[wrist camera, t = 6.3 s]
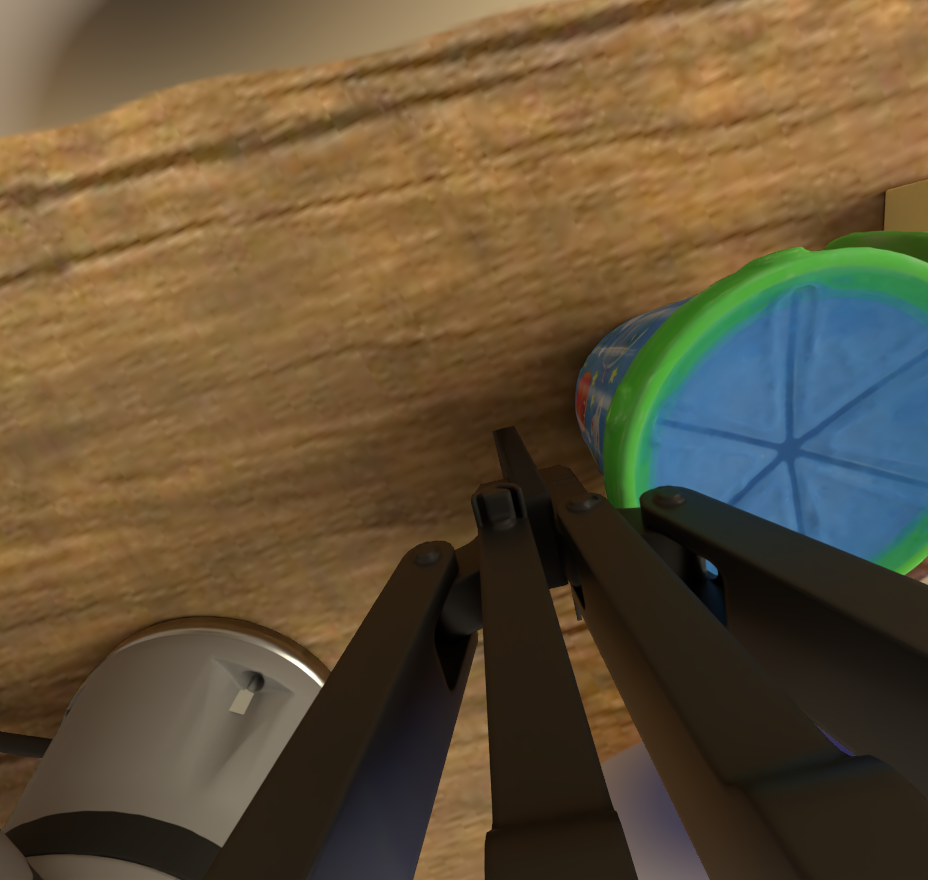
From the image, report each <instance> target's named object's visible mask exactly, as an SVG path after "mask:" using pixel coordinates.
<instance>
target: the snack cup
mask: <svg viewBox="0 0 928 880" xmlns="http://www.w3.org/2000/svg"><path fill="white" fill-rule="evenodd" d="M575 410H576V417H577V421H578V424H579V427H580V430H581V434H582V436H583V439H584V441H585V443H586V444H587V446H588V447H589V449H590V452H591V454H592V456H593V458H594V461H595V463H596V465H597V467H598V469H599V471H600V473H601V474H602V476H603V478H604V483H605V489H606V493H607V498H608V501H609V502H610V503H611V504H612V505H613V506H614V507H615V508H638V507H640V502H639V498H640V496H641V495H642V494H643V493H644V492H646V491H648V490H650V489H654V488H657V487H659V486H667V485H672V486H678V487H684V488H688V489H692V490H694V491H697V492H699V493H702V494H704V495H706V496H709V497H711V498H714V499H716V500H719V501H721V502H724V503H726V504H729V505H731V506H734V507H736V508H739V509H741V510H744V511H746V512H749V513H751V514H753V515H756V516H758V517H761V518H763V519H766V520H768V521H771V522H773V523H776V524H778V525H781V526H783V527H786V528H788V529H791V530H793V531H796V532H798V533H801V534H803V535H805V536H808V537H810V538H813V539H815V540H818V541H820V542H823V543H825V544H828V545H830V546H833V547H835V548H838V549H840V550H843V551H845V552H848V553H850V554H853V555H855V556H857V557H860V558H862V559H865V560H867V561H870V562H872V563H875V564H877V565H880V566H882V567H885V568H887V569H890V570H892V571H895V572H897V573H900V574H902V575H905V574H907V573H908V572H909V571H910V570H912V569H913V568H915V567H916V566H917V565H918V564H919V563H921V562H922V561H923V560H924V559H925V558H926V557H927V556H928V232H923V231H921V232H915V231H869V232H854V233H852V234H849V235H846V236H843V237H839V238H837V239H835V240H833V241H831V242H830V243H829V244H827V245H826V247H825V248H824V250H821V251H812V252H810V251H808V250H806V249H804V248H803V247H793V248H790V249H786V250H782V251H778V252H774V253H771V254H769V255H766V256H763V257H760V258H757V259H755V260H753V261H751V262H749V263H748V264H746V265H745V266H744V267H742V268H741V269H740V270H738V271H737V272H736V273H734V274H732V275H729V276H727V277H725V278H723V279H721V280H719V281H717V282H715V283H714V284H713V285H711V286H710V287H708V288H707V289H706V290H704V291H703V292H701V293H699V294H697V295H695V296H692V297H689V298H688V299H686V300H683V301H679V302H675V303H672V304H669V305H667V306H663V307H660V308H658V309H655V310H652V311H649V312H647V313H644V314H641V315H639V316H636V317H633V318H631V319H629V320H628V321H626V322H624V323H623V324H621V325H619V326H618V327H617V328H615V329H614V330H613V331H611V332H610V333H608V334H607V335H606V336H605V337H604V338H603V339H602V340H601V341H600V342H599V343H598V344H597V345H596V347H595V348H594V349H593V351H592V353H591V354H590V355H589V356H588V357H587V359H586V361H585V363H584V366H583V367H582V368H581V369H580V372H579V376H578V379H577V383H576V390H575ZM706 567H707V570H708V571H710V572H711V573H713V574H715V575H718V570H717V568H716V567H715V566H714V565H713V564H712V563H710V562H709V561H708V560H706Z"/></svg>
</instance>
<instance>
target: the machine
mask: <svg viewBox="0 0 928 880" xmlns="http://www.w3.org/2000/svg"><path fill="white" fill-rule="evenodd" d="M884 231H915V232H921V231H923V232H928V179H927V180H923V181H919V182H915V183H912V184H908V185H904V186H900V187H897V188H893V189H889V190H887V191H886V197H885V217H884Z"/></svg>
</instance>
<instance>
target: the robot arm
mask: <svg viewBox="0 0 928 880" xmlns="http://www.w3.org/2000/svg"><path fill="white" fill-rule="evenodd" d="M493 435H494V439H495V444H496V448H497V452H498V457H499V461H500V465H501V470H502V474H503V478H504V479H501V480H497V481H493V482H489V483H484V484H481V485H480V486H479V488H478V489H477V490H476V492H475V493H474V494H473V495H472V497H471V504H472V508H473V512H474V515H475V519H476V523H477V527H478V536H477V537H476V538H475V539H474V540H473V541H471V542H470V543H469V544H467V545H465V546H463V547H461V548H459V549H456V550H454V548H453V546H452V545H451V544H450V543H448V542H446V541H431V542H424V543H423V544H419V545H417V546H416V547H414V548H413V549H411V550H410V551H408V552H407V553H406V555H405V556H404V557H403V558H402V560H401V561H400V563H399V565H398V566H397V568H396V569H395V571H394V573H393V574H392V576H391V577H390V579H389V581H388V582H387V584H386V585H385V587H384V589H383V590H382V592H381V593H380V595H379V597H378V598H377V600H376V601H375V603H374V605H373V606H372V608H371V609H370V611H369V613H368V614H367V616H366V617H365V619H364V621H363V622H362V624H361V626H360V627H359V629H358V630H357V632H356V634H355V635H354V637H353V638H352V640H351V642H350V643H349V645H348V646H347V648H346V650H345V651H344V653H343V654H342V656H341V658H340V659H339V661H338V662H337V664H336V666H335V667H334V669H333V670H332V672H330V670H329V669H328V668H327V667H326V666H325V665H324V664H323V663H322V662H321V661H320V660H319V659H318V658H317V657H316V656H314V655H313V654H312V653H311V652H310V651H308V650H307V649H305V648H304V647H303V646H301V645H300V644H298V643H296V642H295V641H293V640H292V639H290V638H288V637H286V636H284V635H282V634H280V633H278V632H275V631H273V630H270V629H268V628H265V627H262V626H259V625H256V624H253V623H249V622H244V621H240V620H234V619H228V618H217V617H193V618H182V619H177V620H171V621H167V622H163V623H160V624H156V625H154V626H151V627H148V628H146V629H144V630H142V631H140V632H137V633H135V634H134V635H132V636H131V637H129V638H127V639H126V640H124V641H123V642H122V643H121V644H119V645H118V646H117V647H116V648H115V649H114V650H113V651H112V652H111V653H110V654H109V655H108V656H107V657H106V658H105V659H104V660H103V661H102V662H101V663H100V664H99V665H98V666H97V667H96V668H95V669H94V670H93V671H92V672H91V673H90V675H89V676H88V677H87V679H86V680H85V682H84V683H83V684H82V685H81V687H80V688H79V689H78V691H77V692H76V693H75V695H74V696H73V698H72V700H71V701H70V703H69V706H68V708H67V710H66V712H65V715H64V717H63V719H62V722H61V724H60V728H59V730H58V731H57V733H56V735H55V737H54V738H53V739H49V738H42V737H34V736H27V735H20V734H13V733H7V732H1V731H0V752H2V753H8V754H15V755H22V756H29V757H36V758H42V759H41V761H40V763H39V765H38V767H37V768H36V770H35V772H34V774H33V776H32V778H31V779H30V781H29V783H28V785H27V787H26V789H25V791H24V792H23V794H22V796H21V798H20V800H19V802H18V804H17V806H16V807H15V809H14V811H13V813H12V815H11V817H10V818H9V820H8V822H7V823H6V825H5V826H4V828H3V829H2V830H1V829H0V880H413V878H414V874H415V871H416V867H417V863H418V860H419V856H420V852H421V849H422V845H423V841H424V838H425V834H426V830H427V826H428V823H429V819H430V815H431V812H432V808H433V804H434V801H435V797H436V793H437V790H438V786H439V782H440V779H441V775H442V771H443V768H444V764H445V760H446V757H447V753H448V749H449V746H450V742H451V738H452V735H453V731H454V727H455V724H456V720H457V716H458V713H459V709H460V705H461V702H462V698H463V694H464V690H465V687H466V683H467V679H468V676H469V672H470V668H471V665H472V661H473V657H474V654H475V650H476V646H477V643H478V633H477V631H478V630H480V629H482V628H483V638H484V658H485V677H486V696H487V716H488V735H489V754H490V774H491V793H492V817H493V823H492V830H490V831H489V832H487V833H486V840H485V880H638V877H637V875H636V871H635V867H634V864H633V861H632V857H631V854H630V851H629V848H628V845H627V841H626V838H625V835H624V832H623V828H622V825H621V822H620V820H619V817H618V814H617V812H616V811H615V810H614V808H613V805H612V802H611V799H610V796H609V792H608V789H607V786H606V782H605V779H604V776H603V772H602V769H601V765H600V762H599V758H598V755H597V752H596V748H595V745H594V741H593V738H592V734H591V731H590V728H589V724H588V721H587V717H586V714H585V711H584V707H583V704H582V700H581V697H580V693H579V690H578V687H577V683H576V680H575V676H574V673H573V670H572V666H571V663H570V659H569V656H568V652H567V649H566V646H565V642H564V639H563V635H562V632H561V629H560V625H559V622H558V618H557V615H556V611H555V608H554V605H553V601H552V598H551V594H550V591H549V589H551V588H555V587H560V586H564V585H567V584H568V581H569V582H570V585H571V590H572V595H573V600H574V605H575V610H576V615H577V620H582V616H583V618H584V620H585V622H586V625H587V627H588V629H589V631H590V633H591V635H592V637H593V639H594V641H595V643H596V645H597V647H598V649H599V651H600V653H601V656H602V658H603V660H604V662H605V664H606V666H607V668H608V670H609V672H610V674H611V676H612V678H613V680H614V682H615V684H616V687H617V689H618V691H619V693H620V695H621V697H622V699H623V701H624V703H625V705H626V707H627V709H628V711H629V713H630V715H631V718H632V720H633V722H634V724H635V726H636V728H637V730H638V732H639V734H640V736H641V738H642V740H643V742H644V744H645V746H646V749H647V750H648V753H649V755H650V757H651V759H652V761H653V763H654V765H655V767H656V769H657V771H658V773H659V775H660V777H661V779H662V782H663V784H664V786H665V788H666V790H667V792H668V794H669V796H670V798H671V800H672V802H673V804H674V806H675V809H676V810H677V813H678V815H679V817H680V819H681V821H682V823H683V825H684V827H685V829H686V831H687V833H688V835H689V837H690V840H691V842H692V844H693V846H694V848H695V850H696V852H697V854H698V856H699V858H700V860H701V862H702V864H703V866H704V868H705V870H706V872H707V875H708V877H709V879H710V880H928V585H926V584H924V583H922V582H919V581H917V580H914V579H912V578H909V577H907V576H905V575H902V574H900V573H897V572H895V571H892V570H890V569H887V568H885V567H882V566H880V565H877V564H875V563H872V562H870V561H867V560H865V559H862V558H860V557H857V556H855V555H853V554H850V553H848V552H845V551H843V550H840V549H838V548H835V547H833V546H830V545H828V544H825V543H823V542H820V541H818V540H815V539H813V538H810V537H808V536H805V535H803V534H801V533H798V532H796V531H793V530H791V529H788V528H786V527H783V526H781V525H778V524H776V523H773V522H771V521H768V520H766V519H763V518H761V517H758V516H756V515H753V514H751V513H749V512H746V511H744V510H741V509H739V508H736V507H734V506H731V505H729V504H726V503H724V502H721V501H719V500H716V499H714V498H711V497H709V496H706V495H704V494H702V493H699V492H697V491H694V490H692V489H688V488H684V487H678V486H672V485H667V486H659V487H657V488H654V489H650V490H648V491H646V492H644V493H643V494H642V495H641V496H640V498H639V502H640V507H638V508H615V507H614V506H613V505H612V504H611V503H610V502H609V501H608V500H607V499H606V498H605V497H603V496H602V495H600V494H595V493H588V492H587V491H586V489H585V488H584V487H583V486H582V484H581V483H580V482H579V481H578V479H577V478H576V476H575V475H574V474H573V473H572V471H571V470H570V469H569V468H566V467H564V466H561V465H556V466H552V467H548V468H544V469H540V470H537V468H536V466H535V464H534V462H533V460H532V458H531V457H530V455H529V453H528V451H527V449H526V447H525V446H524V444H523V442H522V440H521V438H520V436H519V434H518V433H517V431H516V429H515V427H514V426H511V427H507V428H502V429H498V430H495V431H493ZM706 560H708V561H709V562H710V563H712V564H713V565H714V566H715V567H716V568H717V570H718V575H715V574H713V573H711V572H710V571H708V570H707V567H706ZM581 614H582V616H581ZM814 723H815V724H816V725H817V726H819V727H820V728H821V729H822V730H824V731H825V732H826V733H828V734H829V735H830V736H831V737H833V738H834V739H835V740H837V741H838V742H839V743H840V744H842V745H843V746H844V747H845V748H847V749H848V750H849V751H851V752H852V753H853V754H854V755H856V756H852V757H851V756H849V755H848V754H846V753H844V752H842V751H840V750H839V749H838V748H837V747H836V746H835V745H834V744H833V743H832V742H831V741H830V740H829V739H828V738H827V737H826V736H825V735H824V734H823V733H822V732H821V730H820V729H819V728H818V727H817V726H816V725H815V724H814Z"/></svg>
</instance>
